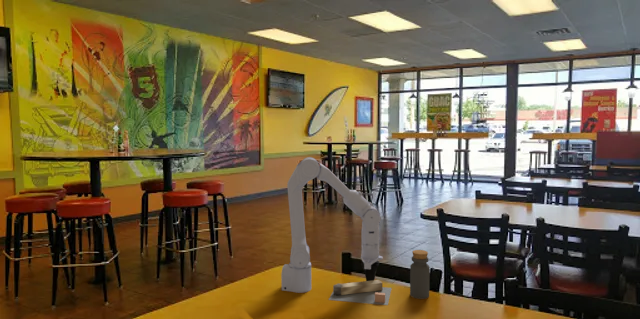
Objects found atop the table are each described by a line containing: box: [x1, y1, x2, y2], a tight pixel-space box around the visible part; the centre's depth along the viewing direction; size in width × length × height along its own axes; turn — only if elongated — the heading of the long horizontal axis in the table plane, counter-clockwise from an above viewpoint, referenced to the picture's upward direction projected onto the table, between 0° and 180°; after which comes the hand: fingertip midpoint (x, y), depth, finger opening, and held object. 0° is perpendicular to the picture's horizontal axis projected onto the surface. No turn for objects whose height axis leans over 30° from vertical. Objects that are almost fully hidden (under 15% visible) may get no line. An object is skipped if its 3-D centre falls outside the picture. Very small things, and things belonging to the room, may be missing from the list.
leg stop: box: [375, 292, 385, 303], centre depth 132 cm, size 3×2×2 cm, turn 76°
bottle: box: [409, 249, 431, 300], centre depth 136 cm, size 6×6×15 cm
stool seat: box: [328, 286, 392, 306], centre depth 138 cm, size 18×14×1 cm
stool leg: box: [332, 279, 383, 295], centre depth 139 cm, size 16×3×2 cm, turn 106°
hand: (370, 283), depth 143 cm, fingers closed
